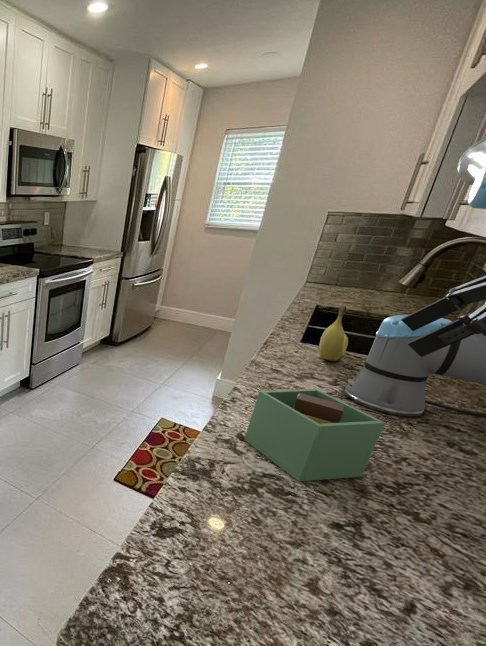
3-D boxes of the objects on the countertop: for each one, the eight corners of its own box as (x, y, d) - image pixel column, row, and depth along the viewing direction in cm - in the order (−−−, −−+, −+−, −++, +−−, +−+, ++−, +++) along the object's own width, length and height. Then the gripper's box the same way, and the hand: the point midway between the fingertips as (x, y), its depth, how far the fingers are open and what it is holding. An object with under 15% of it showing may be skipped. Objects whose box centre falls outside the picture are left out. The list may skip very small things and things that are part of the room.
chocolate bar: (280, 443, 86) (298, 392, 82) (323, 457, 82) (344, 404, 77) (278, 450, 83) (296, 398, 79) (322, 465, 79) (344, 411, 75)
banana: (326, 350, 144) (346, 294, 137) (347, 355, 140) (369, 298, 133) (309, 364, 131) (330, 304, 124) (331, 370, 127) (355, 308, 119)
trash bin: (299, 436, 90) (316, 388, 86) (361, 476, 78) (385, 422, 73) (244, 439, 88) (259, 390, 84) (298, 481, 76) (319, 426, 71)
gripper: (544, 219, 65) (388, 302, 80) (611, 243, 48) (397, 343, 63) (586, 253, 64) (420, 331, 78) (672, 290, 46) (438, 382, 61)
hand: (409, 336), depth 70 cm, fingers open, 13 cm apart
